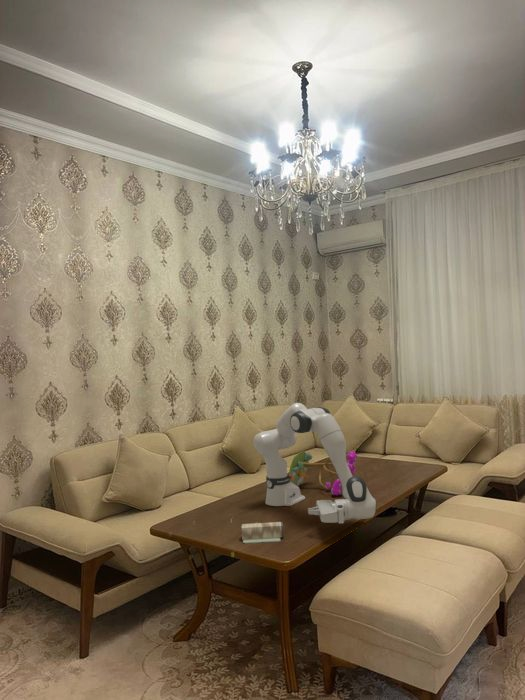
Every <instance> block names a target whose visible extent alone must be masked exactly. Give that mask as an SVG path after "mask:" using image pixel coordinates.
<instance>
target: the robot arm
mask: <svg viewBox="0 0 525 700" xmlns="http://www.w3.org/2000/svg"><path fill="white" fill-rule="evenodd" d="M275 424H276V426H275V428H274V429H270V430H264V431H262V432H261V431H260V432H258V433H257V434H255V435H254V437H253V440H252V443H253V447H254V449H255V450H256V451H257V452H258V453H259V454H261V456H262V458H263V460H264V462H265V470H266V476H265V478H266V479H265V483H266V497H265V505H267V506H273V507H282V506H283V507H284V506H286V507H289V506H293V505H296V504H298V503H300V502H301V501H303V500H306V497H305V495H302V494H301V489H300V487H299V486H296V485H295V484H293V483H292V482H290V479H293V475H289V474H288V464H287V460H286V459H285V458H284V457H282V456H280V454H279V451H280V450H285V449H286V450H287V449H288V448H291V447H293V446H294V445H295V444H297V443H296V442H297V438H298V437H297V434H306V433H312V432H316V435H317V436H318V439H319V442H320V443H321V446H322V447H323V448H324V451H325V452H326V454H327V456H328V458H330V459H329V460H330V461H331V463H333V465H332V466H333V467H334V468H333V469H335V470H334V471H335V472H336V473H335V474H336V475H337V477H338V478H337V479H339V480H340V483H341V496H342V498H341V499H340V498H339V499H334V501H333V500H330V499H319V500H316V501H315V502H316V503H315V505H316V506H313V507H308V508H307V513H308V515H315V516H319V519H320V521H321V522H322V523H328V524H329V523H331V524H333V523H338V524H344V523H345V521H349V520H351V519H352V520H353V519H354V520H368V519H370V518H373V517H374V516H375V515H376V514H377V500H376V499H375V498H374V497H373V496H372V494H371V492H370V491H369V488H368V486H367V483H366V481H365V480H364V478H362V477H360V476H355V475H354V476H353V475H352V474H351V472H350V469H349V467H348V464H347V463H348V460H347V458H346V457H347V442H346V438H345V436H344V433H343V430H342V429H341V427H340V425H339V424H338V422H337V420H336V418H334V416H333V415H332V413H331V412H330V410H329V409H328V408H326V407H318V406H317V407H312V408H311V407H310V408H307V407H306V405H304V404H303V403H301V402H294V403H292V404H290V406H289V407H288V408H286V409H285V410H284V412H283V413H282V414H281V416H280V417H279V418H278V419H277V420H276V422H275ZM296 433H297V434H296ZM288 475H289V476H288Z"/></svg>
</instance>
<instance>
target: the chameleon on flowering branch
mask: <svg viewBox="0 0 525 700" xmlns="http://www.w3.org/2000/svg"><path fill="white" fill-rule="evenodd" d="M357 456H358V454H357V453H356V452H355V451H352V450H349V451H348V453H346V460H347V464H348V467H349V469H350V472H351V474H352V476H353V475H354V474H355V473H356V466H355V464H356V461H357ZM329 460H330V458H329V457H327V458H326V460H325V462H314V461H315V459H314V460H313V455H312V454H311V453H310V452H306V451H299V452H298V453H297V454H295V455H294V456H293V459H292V460H291V464H290V468H289V471H288V474H287V475H288V476H289V475H293V479H290V482H292V483H293V484H295V485H296V486H298V487H299V486H300V485H302V484H303V481H304V479H305V478H309V476H310V475H308V474H307V470H309V471H310V472H311V473H313V471H312V469H311V470H310V468H315V467H319V473H318V474H319V475H318V480H319V482H318V483H320V485H321V486H323V488H325V489H327V490H329V489H330V488H331V489H330V493H331V494H332V495H333V496H337V497H338V496H339V495H342V493H341V483H340V480H339V478H337V479H336V480H335V479H334V477H333V475H332V473H333V474H337V473H336V470H335V468H333V467H334V465H333V463H332V462H328V461H329ZM329 466H331V468H332V469H333V470H334V471H333V470H330V468H329ZM323 468H324V469H325V470H326V471H327V472H329V474H330V476H331V478H332V480H333V485H332V482H331V481H326V482H325V481H324V478H323V476H322V475H323ZM322 482H323V483H322Z"/></svg>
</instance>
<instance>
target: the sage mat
mask: <svg viewBox="0 0 525 700" xmlns="http://www.w3.org/2000/svg"><path fill="white" fill-rule="evenodd" d="M242 542H243V543H245V544H257V543H261V544H262V542H263V543H275V542H276V543H278V542H281V537H277V538H260V539H242Z"/></svg>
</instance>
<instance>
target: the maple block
mask: <svg viewBox="0 0 525 700" xmlns="http://www.w3.org/2000/svg"><path fill="white" fill-rule="evenodd" d="M277 537H280V538H284V524H283V521H273V522H254V523H242V524H241V539H242V540H243V539H260V538H277Z"/></svg>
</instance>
